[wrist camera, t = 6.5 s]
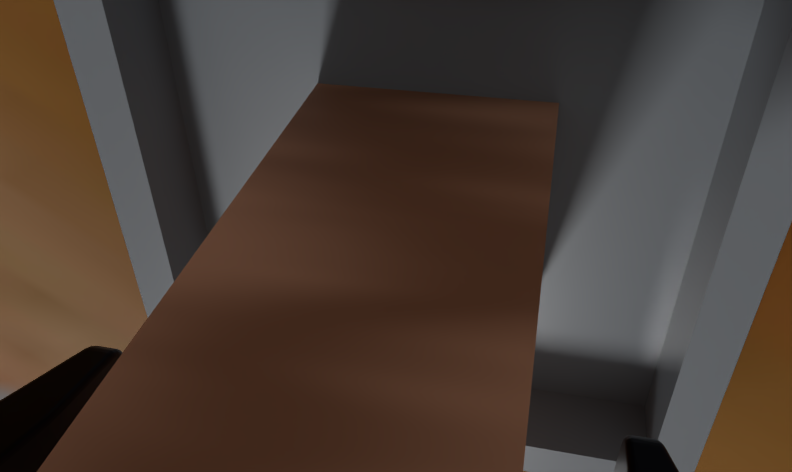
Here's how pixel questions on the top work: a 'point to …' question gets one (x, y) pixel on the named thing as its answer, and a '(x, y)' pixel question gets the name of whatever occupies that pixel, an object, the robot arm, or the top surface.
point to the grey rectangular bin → (571, 177)
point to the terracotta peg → (348, 302)
